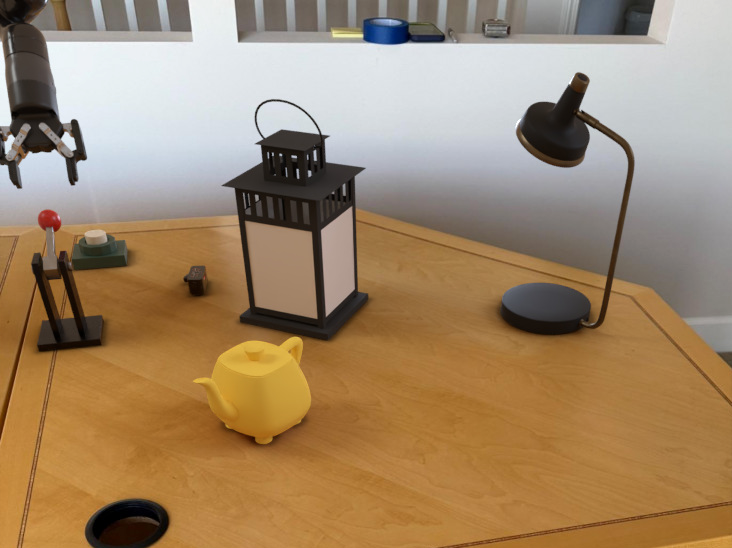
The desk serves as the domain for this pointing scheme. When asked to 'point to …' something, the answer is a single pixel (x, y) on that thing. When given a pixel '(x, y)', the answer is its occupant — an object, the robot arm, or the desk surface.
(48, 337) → the switch bracket
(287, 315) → the lantern
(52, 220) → the switch lever
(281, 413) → the teapot
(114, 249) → the lamp box
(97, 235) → the button
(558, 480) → the desk surface
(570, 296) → the lamp
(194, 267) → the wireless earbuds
